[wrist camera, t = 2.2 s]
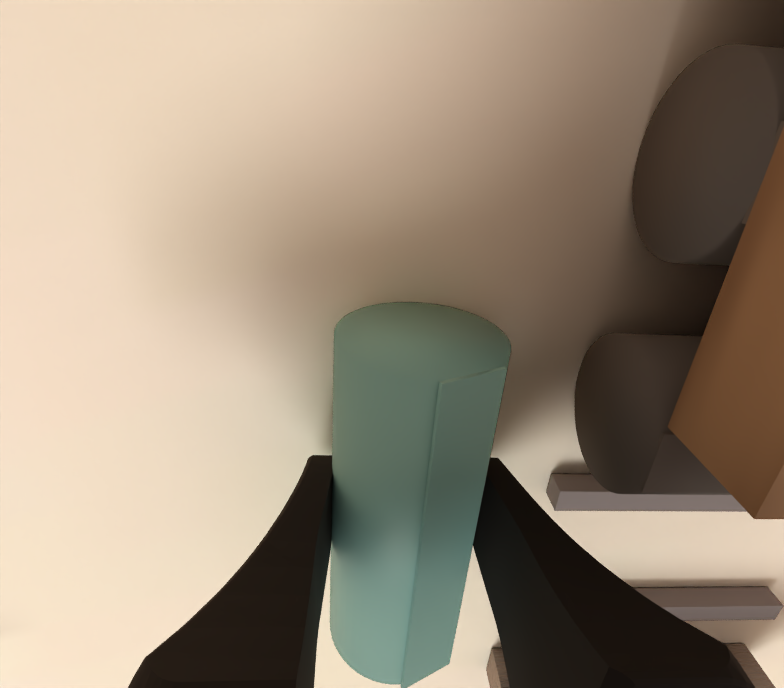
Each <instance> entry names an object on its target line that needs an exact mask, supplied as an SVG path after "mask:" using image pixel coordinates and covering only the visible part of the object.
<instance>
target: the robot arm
mask: <svg viewBox="0 0 784 688" xmlns="http://www.w3.org/2000/svg"><path fill="white" fill-rule="evenodd" d="M332 476H333V470H332V456H325V455H312V456H311V457H309V458H308V460H307V463H306V466H305V468H304V471H303V473H302V475H301V477H300V479H299V481H298V483H297V485H296V487H295V489H294V491H293V493H292V494H291V496H290V498H289V500H288V501H287V503H286V505H285V507H284V508H283V510H282V512H281V513H280V515H279V516H278V518H277V519H276V521H275V522H274V524H273V525H272V527H271V528H270V530H269V531H268V533H267V534H266V536H265V537H264V538H263V540H262V541H261V542H260V544H259V545H258V546H257V548H256V549H255V550H254V552H253V553H252V554H251V555H250V557H249V558H248V559H247V560H246V562H245V563H244V564H243V565H242V566H241V567H240V569H239V570H238V571H237V572H236V573H235V574H234V575H233V576H232V578H231V579H230V580H229V581H228V582H227V583H226V584H225V585H224V586H223V588H222V589H221V590H220V591H219V592H218V593H217V594H216V595H215V596H214V597H213V598H212V599H211V600H210V601H209V602H208V603H207V604H206V605H205V606H203V607H202V608H201V609H200V610H199V611H198V612H197V613H196V614H195V615H194V616H193V617H192V618H191V619H190V620H189V621H188V622H187V623H186V624H185V625H183V626H182V627H181V628H180V629H179V630H178V631H176V632H175V633H174V634H173V635H172V636H170V637H169V638H168V639H167V640H166V641H165V642H163V643H162V644H161V645H160V646H159V647H157V648H156V649H155V650H154V651H153V652H151V653H150V654H149V655H148V656H146V657H145V659H144V660H143V662H142V663H141V665H140V667H139V669H138V670H137V672H136V674H135V675H134V677H133V679H132V681H131V683H130V685H129V687H128V688H314V677H315V662H316V648H317V637H318V629H319V621H320V615H321V608H322V602H323V595H324V589H325V583H326V576H327V570H328V563H329V557H330V550H331V541H332ZM473 547H474V550H475V554H476V557H477V561H478V564H479V567H480V571H481V574H482V577H483V581H484V584H485V587H486V591H487V594H488V598H489V601H490V604H491V608H492V611H493V614H494V618H495V621H496V625H497V629H498V633H499V636H500V641H501V646H502V651H503V656H504V661H505V666H506V671H507V676H508V681H509V687H510V688H755V686H754V685H753V683H752V682H751V680H750V679H749V677H748V675H747V674H746V672H745V671H744V669H743V668H742V666H741V665H740V663H739V662H738V661H737V659H736V658H735V656H734V655H733V654H732V652H731V651H730V650H729V648H728V647H727V646H726V645H725V644H723V643H721V642H720V641H718V640H716V639H714V638H713V637H711V636H709V635H707V634H705V633H704V632H702V631H700V630H698V629H697V628H695V627H693V626H691V625H690V624H688V623H686V622H684V621H682V620H681V619H679V618H678V617H676V616H674V615H673V614H671V613H670V612H668V611H667V610H665V609H663V608H662V607H660V606H659V605H657V604H656V603H654V602H652V601H651V600H650V599H648V598H647V597H645V596H644V595H642V594H641V593H639V592H638V591H636V590H635V589H634V588H632V587H631V586H629V585H628V584H627V583H625V582H624V581H623V580H621V579H620V578H619V577H617V576H616V575H615V574H613V573H612V572H611V571H609V570H608V569H607V568H606V567H604V566H603V565H602V564H601V563H599V562H598V561H597V560H596V559H595V558H593V557H592V556H591V555H590V554H589V553H588V552H586V551H585V550H584V549H583V548H582V547H581V546H579V545H578V544H577V543H576V542H575V541H574V540H573V539H572V538H571V537H570V536H569V535H568V534H567V533H566V532H565V531H563V530H562V529H561V528H560V527H559V526H558V525H557V524H556V523H555V522H554V521H553V520H552V519H551V518H550V517H549V515H548V514H547V513H546V512H545V511H544V510H543V509H542V508H541V507H540V506H539V505H538V504H537V502H536V501H535V500H534V499H533V498H532V497H531V496H530V495H529V494H528V492H527V491H526V490H525V489H524V488H523V487H522V485H521V484H520V483H519V482H518V481H517V480H516V478H515V477H514V476H513V475H512V474H511V472H510V471H509V470H508V469H507V468H506V467H505V465H504V464H503V463H502V462H501V461H500V460H499V458H490V460H489V465H488V470H487V475H486V480H485V486H484V491H483V496H482V501H481V506H480V511H479V516H478V521H477V526H476V531H475V536H474V542H473Z"/></svg>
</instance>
